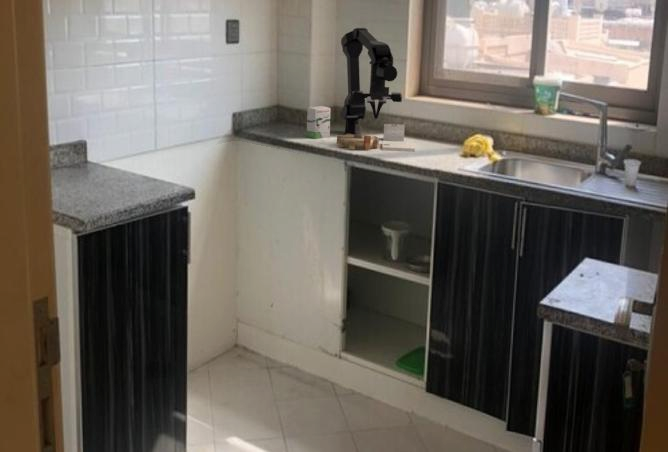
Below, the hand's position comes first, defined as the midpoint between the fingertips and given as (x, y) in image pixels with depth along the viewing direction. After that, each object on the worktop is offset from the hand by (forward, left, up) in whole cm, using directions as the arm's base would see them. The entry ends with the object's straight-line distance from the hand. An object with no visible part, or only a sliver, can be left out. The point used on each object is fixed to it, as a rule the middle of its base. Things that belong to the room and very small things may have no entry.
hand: (375, 118), depth 324 cm
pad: (+4, +9, -10) cm, 14 cm away
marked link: (-11, +8, -10) cm, 17 cm away
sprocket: (+5, -6, -10) cm, 13 cm away
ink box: (-10, -22, -10) cm, 27 cm away
